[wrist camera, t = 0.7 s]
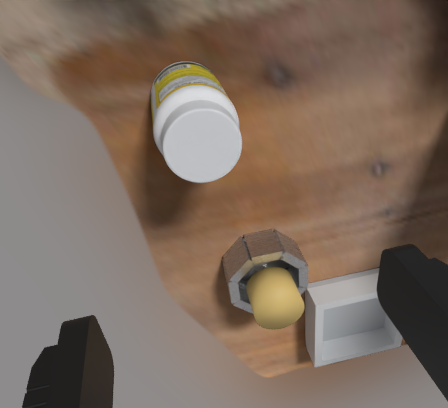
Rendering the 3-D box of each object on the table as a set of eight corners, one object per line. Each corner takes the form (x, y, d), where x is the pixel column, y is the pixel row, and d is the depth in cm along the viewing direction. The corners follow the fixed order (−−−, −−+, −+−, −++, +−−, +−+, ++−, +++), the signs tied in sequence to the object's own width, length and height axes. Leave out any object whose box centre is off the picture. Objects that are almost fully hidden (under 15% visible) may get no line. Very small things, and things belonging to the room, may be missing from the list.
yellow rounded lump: (291, 262, 32) (304, 288, 29) (292, 296, 34) (304, 322, 32) (244, 272, 32) (252, 299, 29) (248, 305, 34) (256, 334, 31)
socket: (295, 224, 34) (308, 245, 31) (297, 280, 37) (308, 303, 35) (218, 240, 33) (225, 263, 31) (227, 295, 37) (234, 320, 34)
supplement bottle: (204, 139, 28) (225, 201, 21) (140, 116, 26) (140, 175, 19) (232, 76, 26) (265, 121, 19) (165, 47, 24) (174, 85, 17)
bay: (397, 263, 39) (414, 283, 36) (386, 326, 44) (400, 346, 42) (304, 284, 38) (315, 305, 36) (305, 345, 43) (314, 367, 41)
